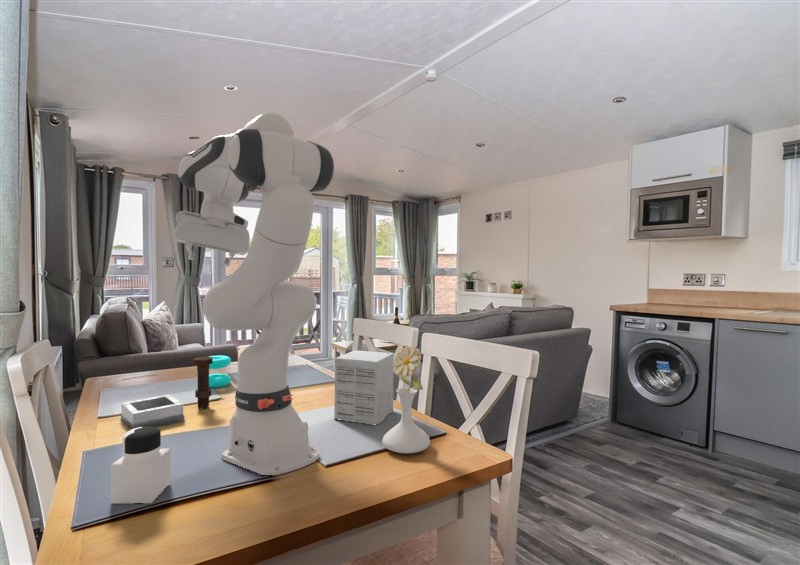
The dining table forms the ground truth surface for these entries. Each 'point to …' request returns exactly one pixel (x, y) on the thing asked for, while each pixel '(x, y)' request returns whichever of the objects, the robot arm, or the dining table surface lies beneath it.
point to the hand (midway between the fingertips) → (209, 262)
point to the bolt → (203, 381)
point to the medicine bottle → (140, 468)
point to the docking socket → (152, 412)
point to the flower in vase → (407, 406)
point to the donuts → (219, 379)
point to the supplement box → (364, 386)
